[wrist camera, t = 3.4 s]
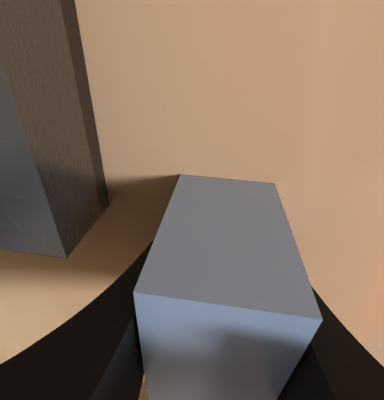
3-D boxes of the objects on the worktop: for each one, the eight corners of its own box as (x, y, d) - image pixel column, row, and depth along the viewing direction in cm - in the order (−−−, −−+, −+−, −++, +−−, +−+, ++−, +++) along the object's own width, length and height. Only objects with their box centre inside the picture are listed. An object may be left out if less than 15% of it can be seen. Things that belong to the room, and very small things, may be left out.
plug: (249, 279, 13) (263, 422, 8) (178, 270, 13) (148, 401, 8) (274, 183, 10) (322, 320, 5) (180, 174, 10) (133, 292, 5)
